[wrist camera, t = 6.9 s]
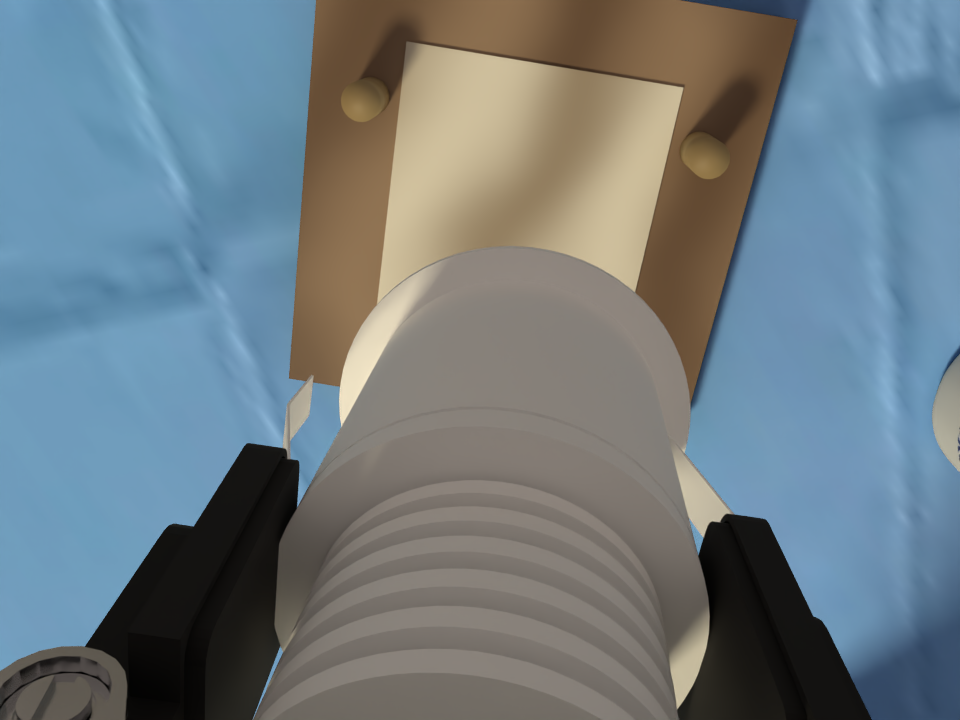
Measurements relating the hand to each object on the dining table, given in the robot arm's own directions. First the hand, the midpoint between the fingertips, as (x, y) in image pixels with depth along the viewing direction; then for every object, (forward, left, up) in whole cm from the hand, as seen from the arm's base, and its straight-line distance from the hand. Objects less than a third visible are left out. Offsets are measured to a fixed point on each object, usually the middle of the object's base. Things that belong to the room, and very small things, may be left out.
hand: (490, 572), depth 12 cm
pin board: (0, -1, -20) cm, 20 cm away
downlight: (0, 0, -6) cm, 6 cm away
